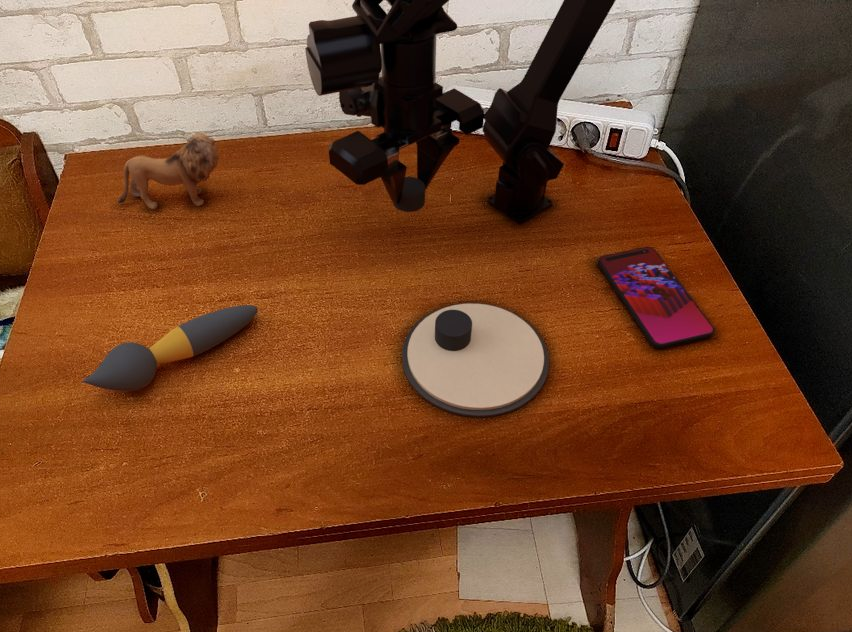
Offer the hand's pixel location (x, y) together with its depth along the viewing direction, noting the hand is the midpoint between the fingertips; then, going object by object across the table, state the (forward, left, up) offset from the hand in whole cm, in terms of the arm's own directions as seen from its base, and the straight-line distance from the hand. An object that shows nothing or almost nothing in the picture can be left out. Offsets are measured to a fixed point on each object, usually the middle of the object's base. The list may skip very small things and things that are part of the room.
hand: (409, 195), depth 84 cm
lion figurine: (+20, -26, -6) cm, 33 cm away
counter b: (0, 0, -1) cm, 1 cm away
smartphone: (-14, +28, -6) cm, 32 cm away
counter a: (+8, +18, -5) cm, 20 cm away
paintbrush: (+33, 0, -6) cm, 33 cm away
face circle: (+8, +21, -6) cm, 23 cm away
